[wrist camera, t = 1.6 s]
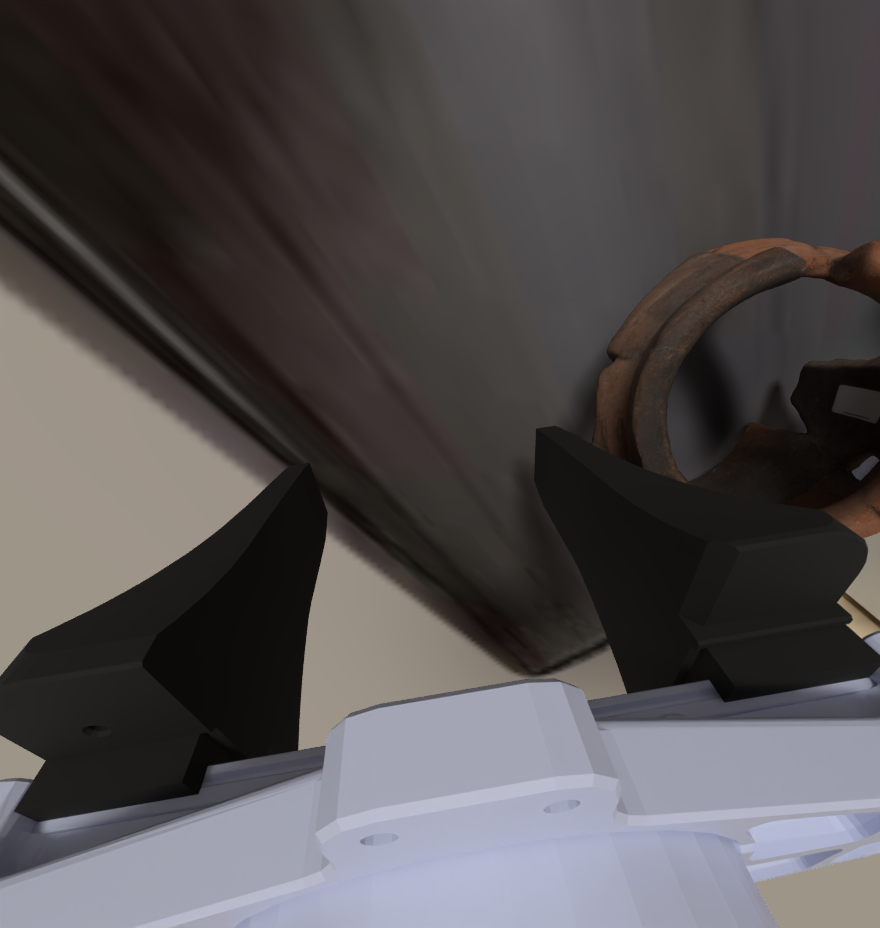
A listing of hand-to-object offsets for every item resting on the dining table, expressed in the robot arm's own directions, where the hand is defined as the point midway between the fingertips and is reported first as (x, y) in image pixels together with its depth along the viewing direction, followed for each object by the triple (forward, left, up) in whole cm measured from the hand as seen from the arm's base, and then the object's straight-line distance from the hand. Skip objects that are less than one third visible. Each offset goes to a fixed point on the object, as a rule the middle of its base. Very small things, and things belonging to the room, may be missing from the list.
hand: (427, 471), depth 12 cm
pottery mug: (-12, -1, -4) cm, 13 cm away
